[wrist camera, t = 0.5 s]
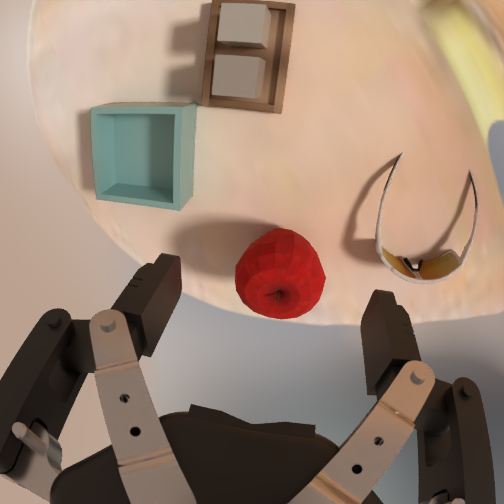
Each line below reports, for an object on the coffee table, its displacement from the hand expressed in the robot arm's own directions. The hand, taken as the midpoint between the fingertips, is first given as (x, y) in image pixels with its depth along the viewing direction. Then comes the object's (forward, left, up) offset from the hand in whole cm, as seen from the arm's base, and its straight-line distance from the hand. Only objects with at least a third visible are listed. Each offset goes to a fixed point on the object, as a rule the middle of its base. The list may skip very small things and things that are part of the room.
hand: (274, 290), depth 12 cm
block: (-8, -6, -24) cm, 26 cm away
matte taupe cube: (-13, -6, -24) cm, 28 cm away
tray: (-10, -6, -24) cm, 27 cm away
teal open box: (+2, -17, -24) cm, 30 cm away
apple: (+13, +1, -25) cm, 28 cm away
